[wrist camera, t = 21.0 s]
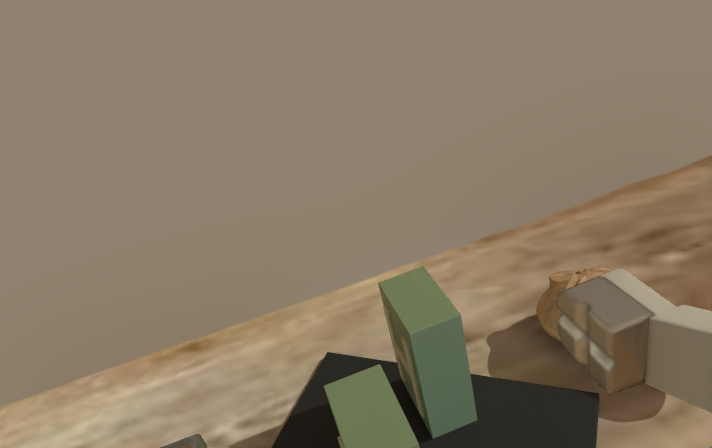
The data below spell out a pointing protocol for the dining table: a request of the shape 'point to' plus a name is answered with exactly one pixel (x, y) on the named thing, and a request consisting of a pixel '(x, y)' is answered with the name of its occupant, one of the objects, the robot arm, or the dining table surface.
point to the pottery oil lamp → (558, 282)
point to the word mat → (470, 442)
